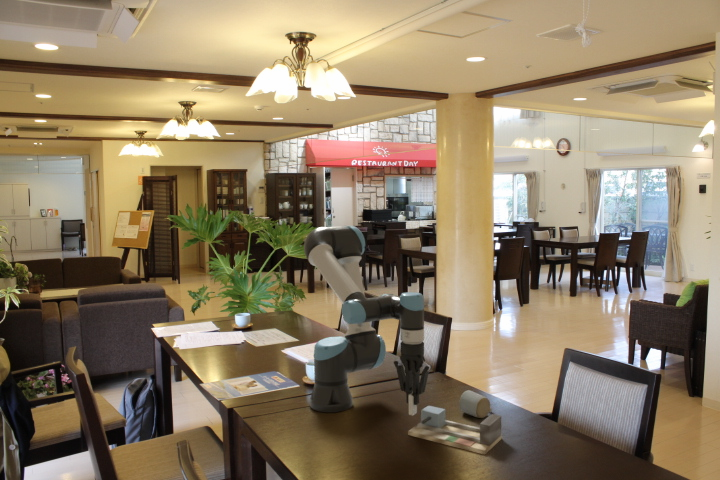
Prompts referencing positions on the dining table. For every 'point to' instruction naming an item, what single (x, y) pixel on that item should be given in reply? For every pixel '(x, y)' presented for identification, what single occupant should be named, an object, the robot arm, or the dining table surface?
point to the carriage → (433, 416)
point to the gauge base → (463, 434)
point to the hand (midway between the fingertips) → (412, 413)
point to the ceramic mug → (474, 404)
